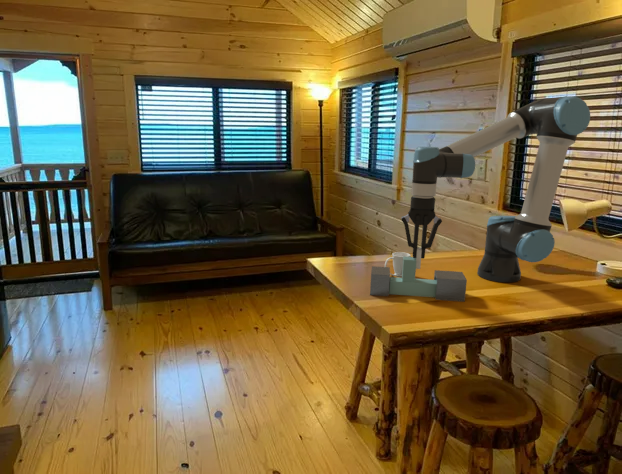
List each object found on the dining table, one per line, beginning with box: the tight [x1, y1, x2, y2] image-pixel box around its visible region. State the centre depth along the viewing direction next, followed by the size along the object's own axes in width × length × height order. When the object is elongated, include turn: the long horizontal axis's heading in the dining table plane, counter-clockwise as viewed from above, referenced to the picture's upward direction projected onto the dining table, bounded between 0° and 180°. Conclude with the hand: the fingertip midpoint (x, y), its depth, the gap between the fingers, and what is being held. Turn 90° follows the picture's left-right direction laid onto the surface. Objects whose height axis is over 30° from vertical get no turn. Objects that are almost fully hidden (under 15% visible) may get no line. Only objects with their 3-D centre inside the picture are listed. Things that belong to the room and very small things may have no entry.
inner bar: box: [389, 256, 437, 298], centre depth 155 cm, size 21×4×12 cm, turn 81°
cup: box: [383, 251, 412, 278], centre depth 175 cm, size 7×10×8 cm
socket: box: [369, 265, 391, 297], centre depth 158 cm, size 6×9×7 cm
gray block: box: [433, 269, 468, 303], centre depth 154 cm, size 9×9×7 cm
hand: (417, 267), depth 155 cm, fingers closed
